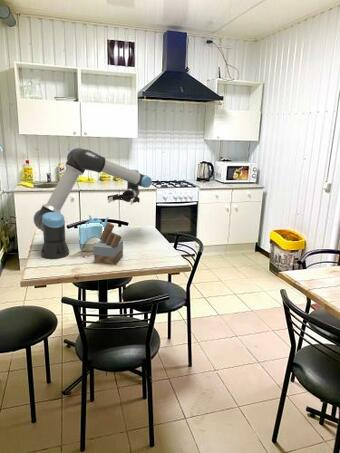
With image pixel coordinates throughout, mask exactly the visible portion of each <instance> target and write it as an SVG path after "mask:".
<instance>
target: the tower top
mask: <svg viewBox="0 0 340 453" xmlns="http://www.w3.org/2000/svg"><path fill="white" fill-rule="evenodd" d="M122 249H123V250H124V240H122V239H121V240H120V242H119V244H118V247H114V246H112V245H110V244H107V243H106V242H104V241H101V240H99V241H98V242H97V243H95V244H94V245H93V246H92V254H93V256H94V255H99V256H108V257H115V256H116V255H117V254H118V253H119V252H120V251H121V250H122Z"/></svg>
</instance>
